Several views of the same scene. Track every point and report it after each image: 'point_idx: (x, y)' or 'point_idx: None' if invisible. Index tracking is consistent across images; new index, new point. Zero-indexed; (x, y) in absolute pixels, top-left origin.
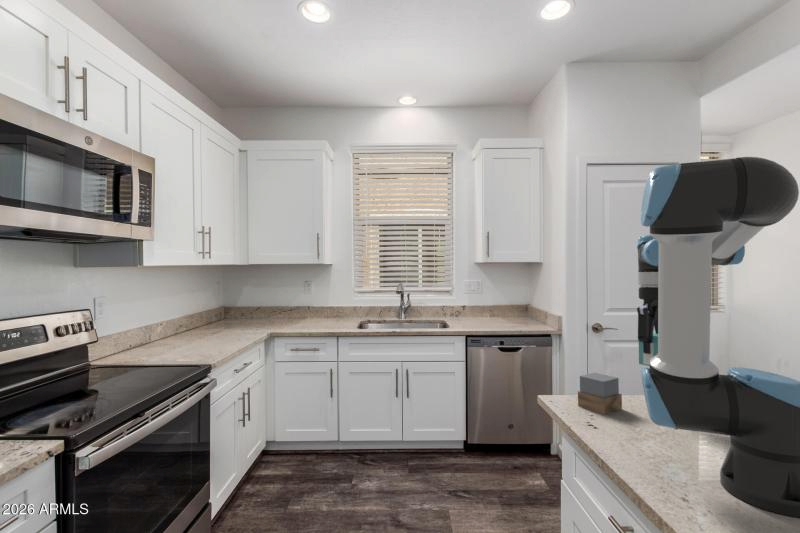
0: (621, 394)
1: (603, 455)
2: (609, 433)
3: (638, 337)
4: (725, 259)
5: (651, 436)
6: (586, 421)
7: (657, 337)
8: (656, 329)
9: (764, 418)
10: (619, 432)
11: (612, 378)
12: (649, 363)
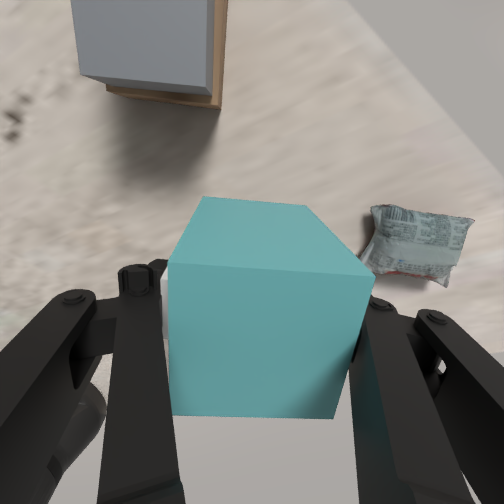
0: (216, 105)
1: None
2: (17, 181)
3: (47, 309)
4: None
5: (97, 246)
6: (25, 92)
7: (170, 397)
8: (368, 370)
9: None
10: (47, 192)
11: (172, 72)
12: None
